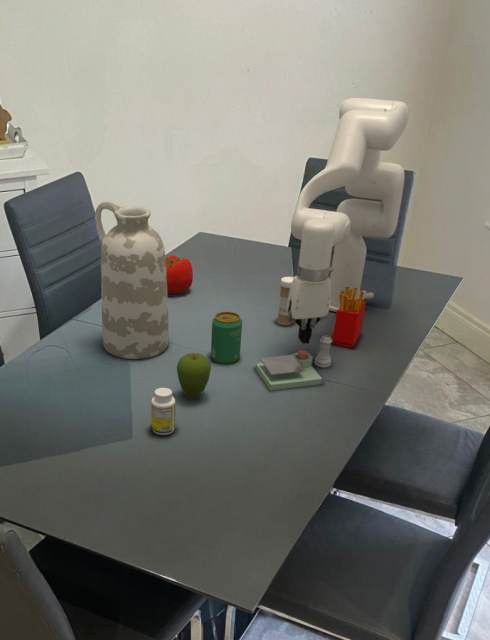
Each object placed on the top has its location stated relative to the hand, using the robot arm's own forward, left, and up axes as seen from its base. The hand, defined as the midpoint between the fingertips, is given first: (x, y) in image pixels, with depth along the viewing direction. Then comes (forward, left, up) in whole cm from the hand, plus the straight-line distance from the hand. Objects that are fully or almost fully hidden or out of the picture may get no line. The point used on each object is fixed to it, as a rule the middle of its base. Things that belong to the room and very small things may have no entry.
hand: (304, 341), depth 193 cm
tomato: (+21, -61, -8) cm, 65 cm away
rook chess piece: (-7, -1, -8) cm, 11 cm away
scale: (+5, +3, -8) cm, 10 cm away
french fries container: (-19, -14, -8) cm, 25 cm away
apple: (+32, +7, -8) cm, 34 cm away
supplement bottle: (+43, +21, -8) cm, 49 cm away
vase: (+41, -25, -8) cm, 48 cm away
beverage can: (+18, -11, -8) cm, 22 cm away
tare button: (0, 0, -5) cm, 5 cm away
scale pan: (+7, +3, -5) cm, 9 cm away
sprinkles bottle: (-6, -29, -8) cm, 30 cm away
